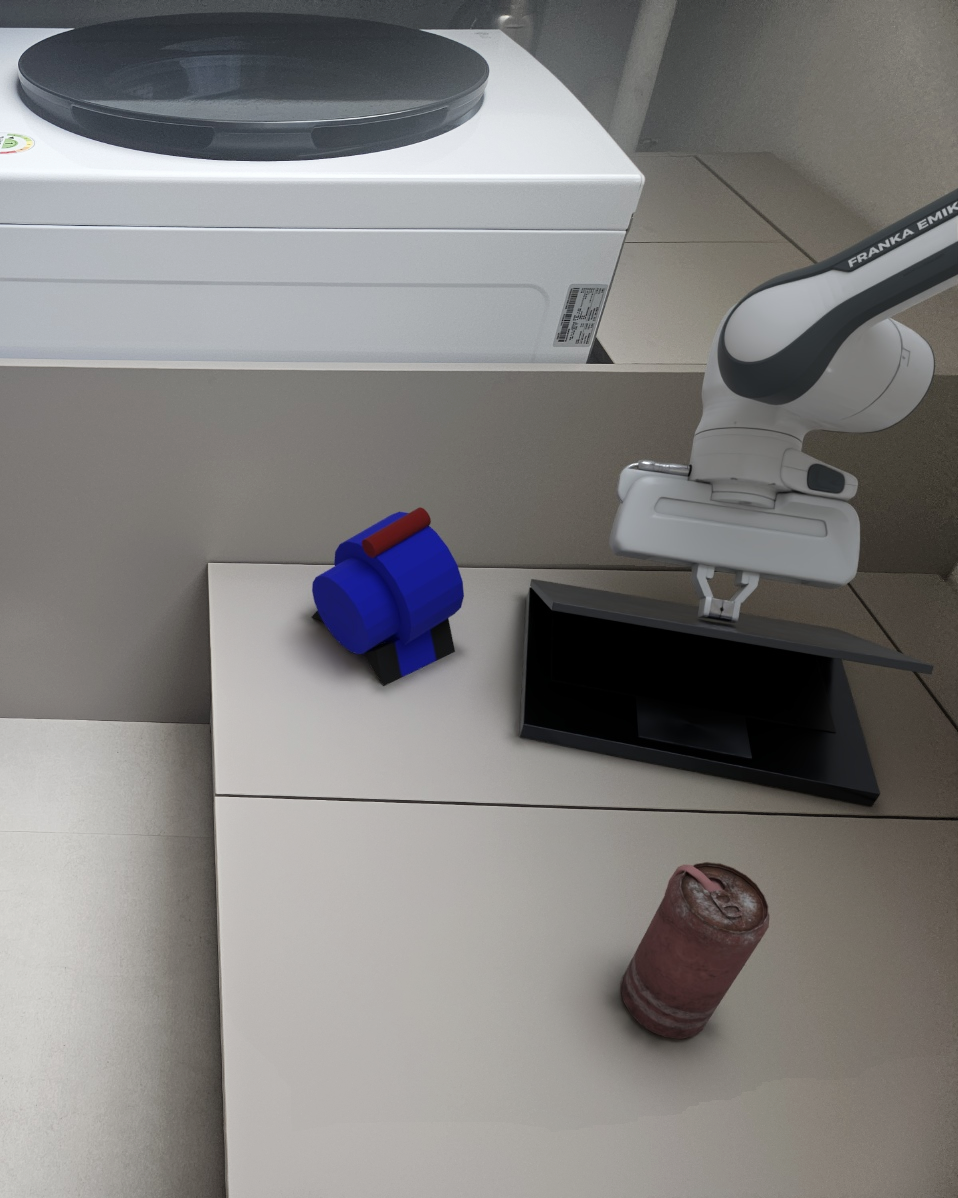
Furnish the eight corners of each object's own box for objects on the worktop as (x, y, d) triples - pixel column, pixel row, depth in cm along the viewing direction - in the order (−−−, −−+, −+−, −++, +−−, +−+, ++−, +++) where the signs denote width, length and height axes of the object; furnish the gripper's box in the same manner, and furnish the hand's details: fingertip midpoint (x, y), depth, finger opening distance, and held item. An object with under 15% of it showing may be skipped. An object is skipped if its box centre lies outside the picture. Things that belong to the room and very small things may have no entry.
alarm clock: (459, 649, 108) (486, 533, 98) (367, 693, 103) (386, 576, 93) (382, 585, 116) (400, 472, 106) (293, 624, 111) (304, 509, 101)
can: (638, 948, 81) (695, 839, 72) (719, 1003, 78) (789, 895, 69) (600, 1000, 78) (655, 892, 69) (683, 1059, 75) (751, 953, 66)
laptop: (872, 807, 91) (881, 793, 90) (519, 737, 98) (523, 723, 97) (828, 650, 107) (836, 636, 106) (525, 599, 114) (529, 586, 112)
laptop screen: (931, 676, 85) (934, 665, 85) (551, 611, 92) (553, 601, 92) (835, 637, 106) (837, 628, 105) (529, 586, 112) (531, 578, 112)
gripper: (629, 448, 95) (604, 596, 94) (879, 482, 90) (854, 638, 89) (614, 463, 101) (590, 602, 100) (847, 496, 96) (824, 642, 96)
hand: (717, 619), depth 95 cm, fingers closed, pressing on laptop screen
